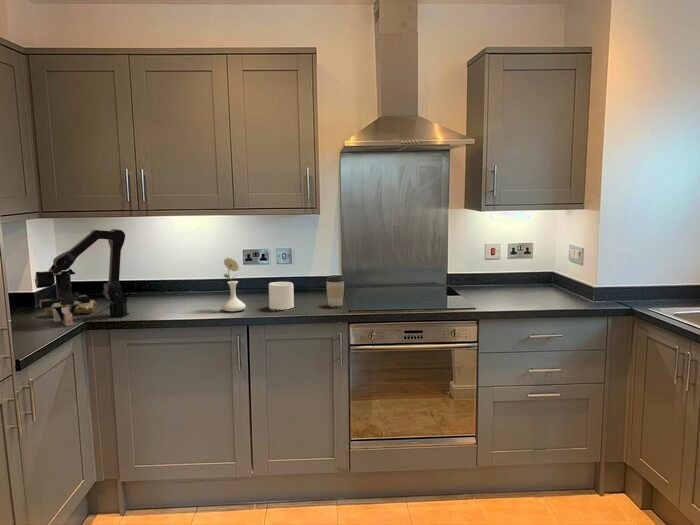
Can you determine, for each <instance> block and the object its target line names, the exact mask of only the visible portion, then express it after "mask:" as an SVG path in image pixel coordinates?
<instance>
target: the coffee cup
mask: <svg viewBox="0 0 700 525" xmlns="http://www.w3.org/2000/svg"><path fill="white" fill-rule="evenodd" d="M325 282H326V286H325V287H326V295H327V302H328V303H327V305H329V306H341V305H342V306H343V302H344V300H343V298H344V293H345V292H344V291H345V290H344V289H345V283H344V282H345V278H344V277H343V276H342V275H339V274H337V275H336V274H335V275H328V276H327V277H326V280H325ZM329 306H328V307H329ZM342 306H341V307H342Z"/></svg>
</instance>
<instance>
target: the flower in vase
mask: <svg viewBox="0 0 700 525" xmlns="http://www.w3.org/2000/svg"><path fill="white" fill-rule="evenodd" d="M223 264H224V266H225V268H227V271H228V272H227V273H225V274H224V275H223V278H226V279H230V281H227V284H228V286H229V289H230V296H229V298H228V299H227V300H226V301H225V302H224V303H223V304H222V305H221V309H222V310H223V311H225V312H238V311H239V312H240V311H243V310H245V309H246V308H247V305H246V304H245V303H244V302H243V301H242V300H240V299H239V298H238V297H237V294H236V288H237V284H238V283H239V281H238V280H233V279H234V278H236V276H238V274H236V275H234V276H232V277H230V271H231V272H238V271H239V264H238V263H237V261H235V259H233V258H230V257H226V258H225V259H223Z"/></svg>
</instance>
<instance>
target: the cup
mask: <svg viewBox="0 0 700 525" xmlns="http://www.w3.org/2000/svg"><path fill="white" fill-rule="evenodd" d="M294 294H295V293H294V283H293V282H291V281H275V282H274V281H273V282H269V284H268V300H269V301H268V303H269V304H268V308H269V309H270V308H271V309H277V310H279V309H280V310H281V309H282V310H284V309H290V308H293V307H294V306H295V300H294V299H295V297H294ZM294 308H295V307H294ZM294 308H293V309H294ZM271 309H270V310H271Z"/></svg>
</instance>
